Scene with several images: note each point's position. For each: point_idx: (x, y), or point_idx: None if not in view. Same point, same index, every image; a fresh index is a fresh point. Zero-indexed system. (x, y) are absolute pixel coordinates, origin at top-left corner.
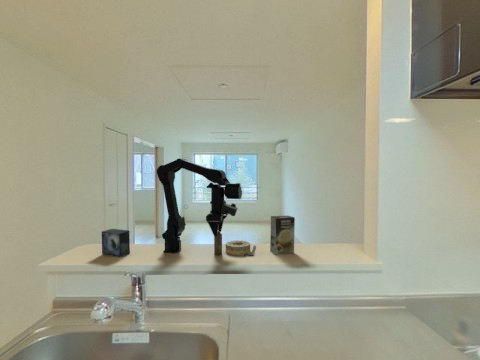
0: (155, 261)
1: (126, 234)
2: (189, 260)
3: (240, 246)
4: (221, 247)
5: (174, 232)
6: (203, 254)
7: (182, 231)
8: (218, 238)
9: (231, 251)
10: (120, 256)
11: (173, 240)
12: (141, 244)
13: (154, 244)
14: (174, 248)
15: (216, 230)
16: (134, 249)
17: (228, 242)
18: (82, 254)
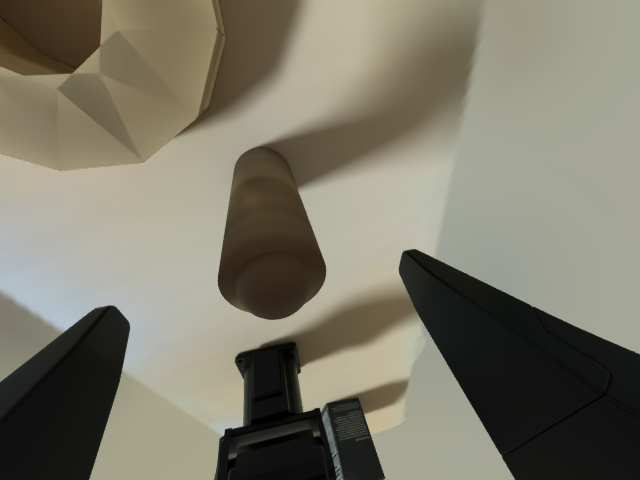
0: (391, 337)
1: (356, 474)
2: (384, 266)
3: None
4: (271, 168)
5: (329, 448)
6: None
7: (251, 452)
8: (313, 233)
9: (217, 58)
10: (357, 399)
11: (297, 404)
12: None
13: (216, 422)
14: (289, 364)
15: (500, 304)
16: None
17: (46, 147)
18: None
